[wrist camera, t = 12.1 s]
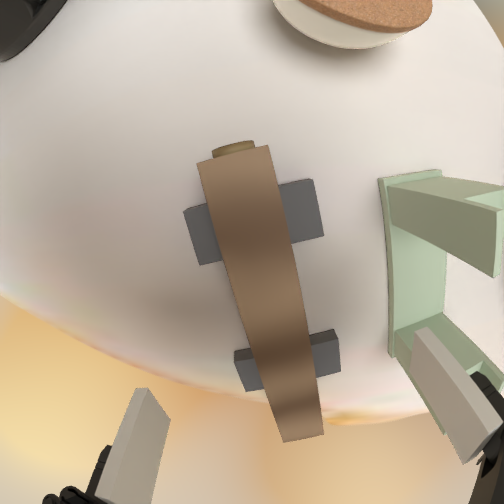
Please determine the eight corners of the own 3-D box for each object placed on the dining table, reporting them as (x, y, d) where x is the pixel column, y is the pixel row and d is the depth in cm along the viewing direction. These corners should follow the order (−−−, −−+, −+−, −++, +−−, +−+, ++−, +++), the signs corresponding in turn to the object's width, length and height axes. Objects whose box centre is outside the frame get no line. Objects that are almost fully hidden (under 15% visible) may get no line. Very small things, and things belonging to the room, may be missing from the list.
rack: (377, 178, 19) (493, 200, 7) (434, 169, 18) (546, 186, 7) (388, 352, 24) (439, 440, 12) (434, 333, 23) (494, 405, 12)
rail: (209, 156, 17) (193, 151, 12) (261, 142, 17) (264, 132, 12) (280, 406, 24) (284, 445, 19) (315, 399, 23) (324, 437, 19)
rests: (187, 208, 19) (183, 211, 18) (308, 178, 19) (312, 179, 17) (246, 381, 24) (245, 391, 23) (337, 361, 24) (341, 371, 22)
